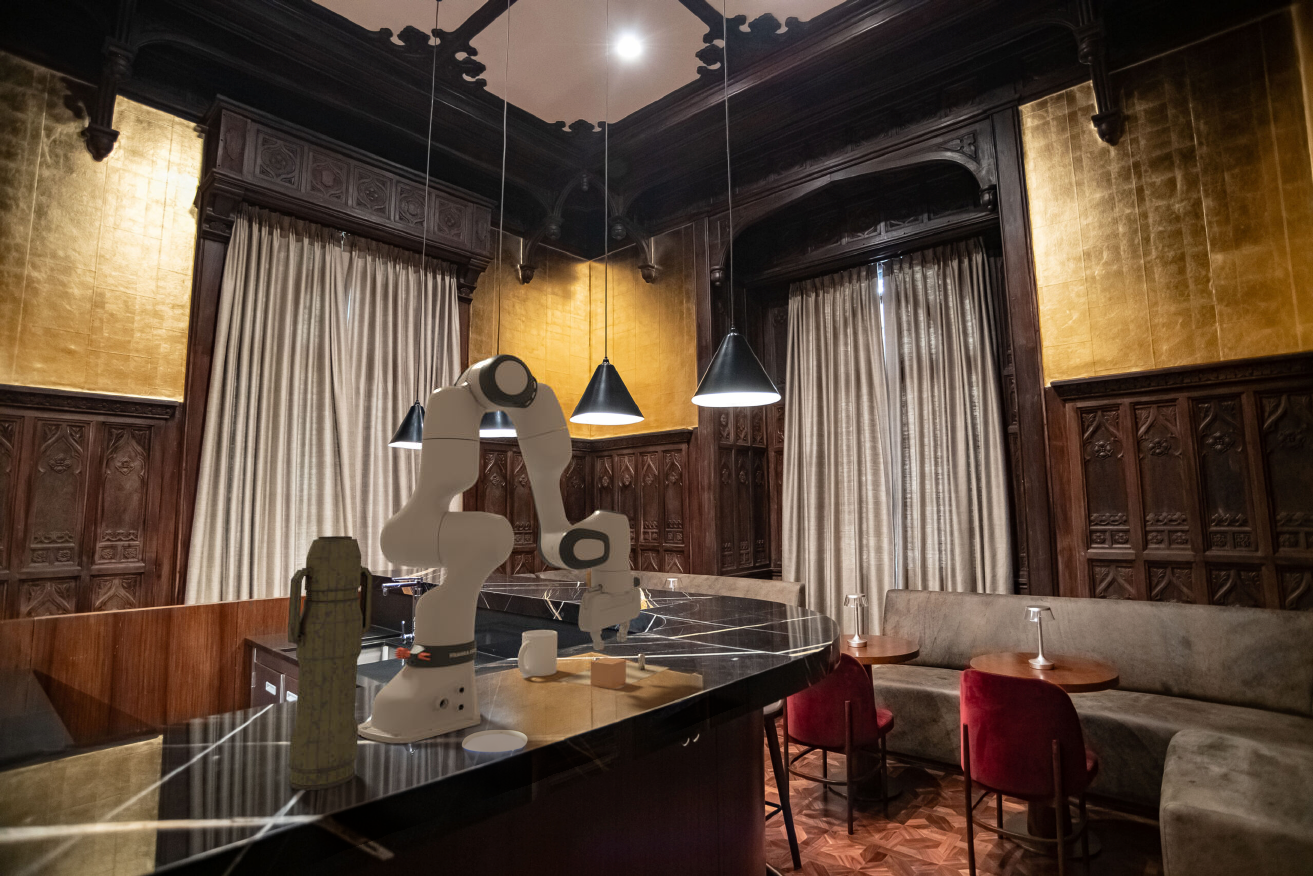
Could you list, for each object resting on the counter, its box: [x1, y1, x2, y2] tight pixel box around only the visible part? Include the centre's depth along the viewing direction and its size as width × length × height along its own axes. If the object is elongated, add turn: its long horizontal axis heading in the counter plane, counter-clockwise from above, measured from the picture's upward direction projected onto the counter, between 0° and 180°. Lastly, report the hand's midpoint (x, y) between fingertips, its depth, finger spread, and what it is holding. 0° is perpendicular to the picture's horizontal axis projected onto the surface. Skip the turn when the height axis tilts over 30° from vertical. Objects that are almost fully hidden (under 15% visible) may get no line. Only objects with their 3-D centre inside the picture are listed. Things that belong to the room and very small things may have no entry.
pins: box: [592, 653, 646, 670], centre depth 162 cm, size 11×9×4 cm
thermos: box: [287, 535, 374, 791], centre depth 101 cm, size 9×12×35 cm
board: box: [556, 661, 670, 691], centre depth 159 cm, size 24×16×1 cm, turn 150°
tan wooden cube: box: [590, 657, 627, 689], centre depth 150 cm, size 6×6×5 cm
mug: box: [517, 629, 558, 679], centre depth 160 cm, size 12×8×10 cm
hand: (610, 645), depth 151 cm, fingers open, 8 cm apart
